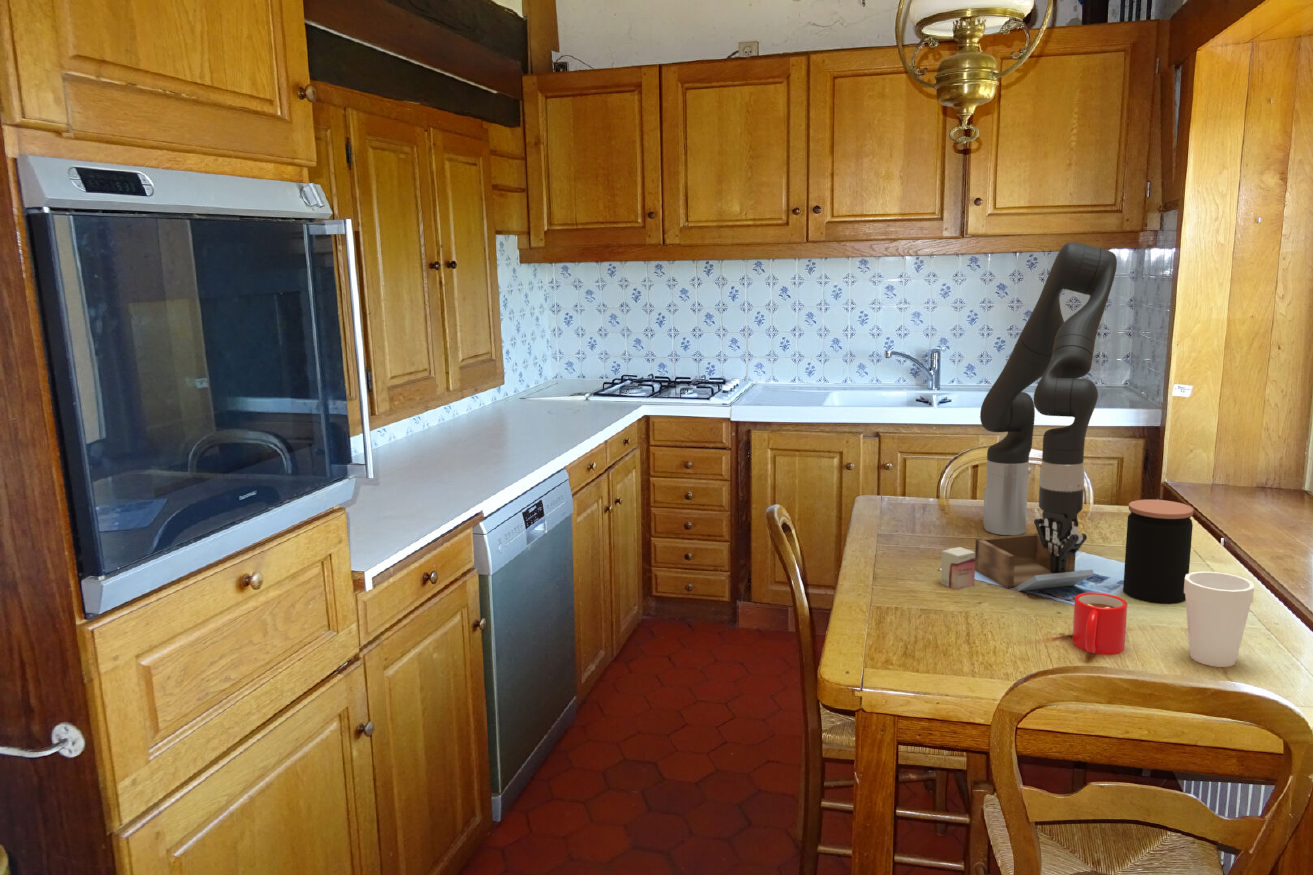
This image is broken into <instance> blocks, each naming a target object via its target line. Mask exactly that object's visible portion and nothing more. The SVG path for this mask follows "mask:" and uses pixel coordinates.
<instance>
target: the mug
mask: <svg viewBox="0 0 1313 875" xmlns="http://www.w3.org/2000/svg"><path fill="white" fill-rule="evenodd" d="M1073 607H1074V608H1073V626H1072V639H1071V640H1072V645H1073V646H1075V648H1077V649H1079V650H1081V651H1084V652H1087V653H1089V654H1095V655H1103V656H1104V655H1105V656H1107V655H1108V656H1110V655H1111V656H1112V655H1119V654H1121V653H1123V652H1124V651H1125V647H1126V646H1125V645H1126V630H1127V616H1128V602H1127V601H1126V600H1125V599H1124V598H1122V597H1119V596H1117V595H1113V594H1111V593H1110V594H1109V593H1103V592H1093V591H1091V592H1082V593H1079V594H1077V595H1076V596H1075V597H1074V605H1073Z"/></svg>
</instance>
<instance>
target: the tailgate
mask: <svg viewBox="0 0 1313 875" xmlns="http://www.w3.org/2000/svg"><path fill="white" fill-rule="evenodd" d="M1092 576H1095V573H1094V570H1093V569H1083V570H1077V571H1076V570H1075V571H1074V572H1064V573H1055V574H1045V575H1036V576H1034V577H1032V578H1030V579H1028V580H1027V581H1025V582H1023V583H1022V584H1020V585H1018V586H1017V587H1014V588H1013V590H1014V591H1016V592H1025V591H1026V592H1027V591H1033V590H1043V589H1050V588H1051V589H1052V588H1060V587H1061V588H1062V587H1069V586H1070V587H1072V586H1075V585H1077V584H1080V583H1082V582H1083V581H1085V580H1087V579H1088V578H1091V577H1092Z"/></svg>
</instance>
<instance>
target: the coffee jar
mask: <svg viewBox="0 0 1313 875" xmlns="http://www.w3.org/2000/svg"><path fill="white" fill-rule="evenodd" d="M1128 510H1129V512H1130V513H1129V514H1128V515H1127V522H1126V540H1125V553H1124V555H1125V556H1124V557H1125V558H1124V569H1123V582H1122V583H1123V584H1122V592H1123V593H1124V594H1125V595H1127V596H1128V597H1130V598H1132V599H1135V600H1137V601H1140V602H1146V603H1151V604H1158V605H1172V604H1173V605H1174V604H1180V603H1184V601H1185V602H1186V598H1185V593H1184V581H1185V576H1186V574H1189V573H1190V564H1191V553H1192V552H1191V549H1192V540H1193V539H1192V538H1193V525H1194V524H1193V521H1192V519H1191V518H1192V516H1194V513H1195V512H1194V507H1191V506H1190V505H1188V504H1185V503H1182V502H1177V501H1171V500H1165V499H1163V500H1162V499H1137V500H1133V501H1130V502H1129V503H1128Z"/></svg>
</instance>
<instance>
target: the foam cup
mask: <svg viewBox="0 0 1313 875" xmlns="http://www.w3.org/2000/svg"><path fill="white" fill-rule="evenodd" d="M1254 590H1255V583H1253V582H1252V581H1251V580H1249V579H1247V578H1245V577H1242V576H1239V575H1235V574H1230V573H1225V572H1219V571H1209V570H1208V571H1207V570H1206V571H1203V570H1202V571H1193V572H1189V574H1186V576H1185V581H1184V593H1185V598H1186V600H1185V610H1186V612H1185V613H1186V624H1187V635H1188V636H1187V638H1188V649H1189V650H1188V651H1189V656H1190V658H1191V659H1192V660H1193V659H1194V660H1193V661H1196V662H1197V663H1200V664H1203V665H1205V666H1210V667H1217V668H1226V667H1227V668H1228V667H1232V666H1235V665H1236V661H1237V659H1238V656H1239V651H1240V648H1241V644H1242V640H1243V637H1244V632H1245V628H1246V624H1247V619H1248V616H1249V613H1250V609H1251V608H1250V607H1251V604H1253V603H1254V602H1253V600H1254Z"/></svg>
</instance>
